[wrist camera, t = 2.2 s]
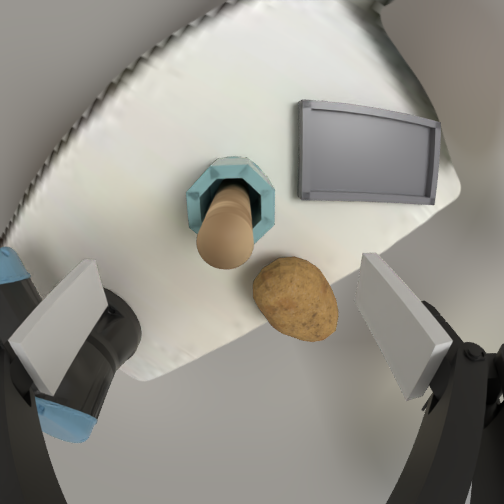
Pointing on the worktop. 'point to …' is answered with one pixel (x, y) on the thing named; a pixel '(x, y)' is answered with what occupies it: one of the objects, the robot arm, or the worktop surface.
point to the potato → (296, 299)
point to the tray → (366, 154)
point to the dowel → (227, 227)
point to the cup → (233, 168)
